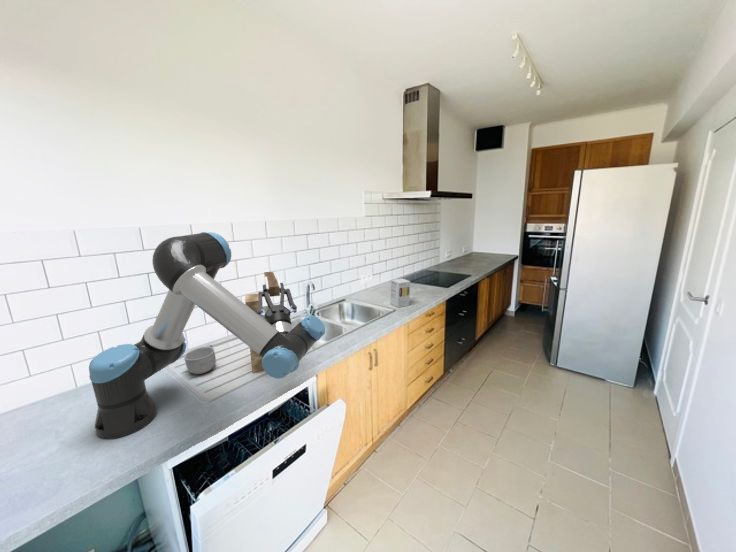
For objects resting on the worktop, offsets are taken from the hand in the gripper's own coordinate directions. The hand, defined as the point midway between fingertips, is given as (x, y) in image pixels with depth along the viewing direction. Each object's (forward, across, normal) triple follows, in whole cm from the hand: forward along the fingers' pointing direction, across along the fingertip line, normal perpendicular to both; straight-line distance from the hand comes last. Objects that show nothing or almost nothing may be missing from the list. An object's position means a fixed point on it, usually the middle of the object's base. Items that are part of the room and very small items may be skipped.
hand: (271, 278), depth 113 cm
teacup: (-9, -28, -40) cm, 49 cm away
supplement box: (+24, +84, -59) cm, 105 cm away
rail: (+1, 0, -6) cm, 6 cm away
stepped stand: (-14, -4, -36) cm, 39 cm away
